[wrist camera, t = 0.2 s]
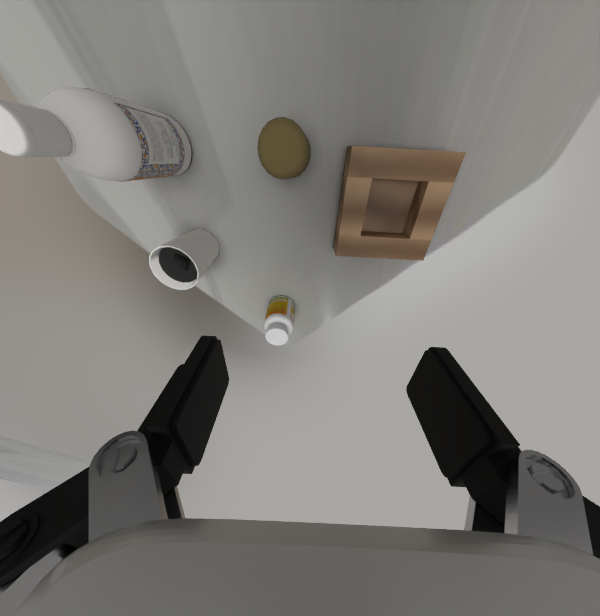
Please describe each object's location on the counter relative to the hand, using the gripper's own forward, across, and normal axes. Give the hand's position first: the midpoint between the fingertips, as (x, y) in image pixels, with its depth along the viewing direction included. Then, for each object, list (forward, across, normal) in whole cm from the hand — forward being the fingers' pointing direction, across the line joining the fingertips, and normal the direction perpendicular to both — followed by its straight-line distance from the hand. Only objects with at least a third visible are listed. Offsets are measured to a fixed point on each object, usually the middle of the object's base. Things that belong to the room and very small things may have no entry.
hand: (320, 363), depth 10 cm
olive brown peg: (+30, +4, -9) cm, 32 cm away
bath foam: (+30, +21, -9) cm, 38 cm away
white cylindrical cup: (+31, +19, +5) cm, 36 cm away
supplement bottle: (+31, +5, +17) cm, 35 cm away
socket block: (+30, -11, -3) cm, 32 cm away
